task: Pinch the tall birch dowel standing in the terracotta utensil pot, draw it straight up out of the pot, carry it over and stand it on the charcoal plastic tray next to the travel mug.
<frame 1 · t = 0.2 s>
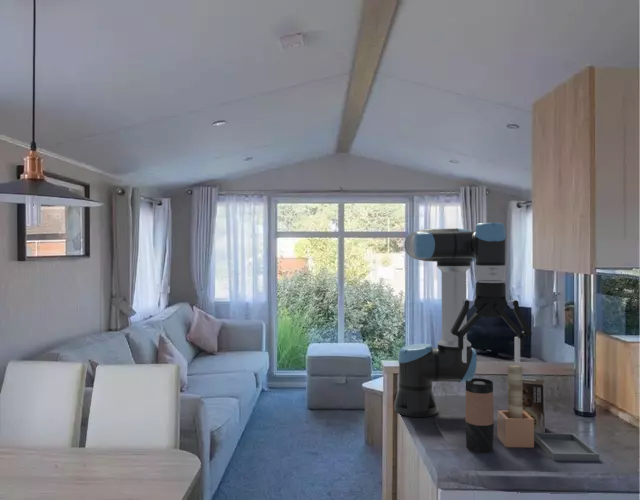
hand: (490, 362, 140), 28 cm above the worktop, fingers open, 13 cm apart
dowel: (515, 441, 156), point 1 cm above the worktop, touching pot
pot: (515, 445, 156), on the worktop
travel mug: (479, 452, 151), on the worktop
coffee box: (529, 432, 167), on the worktop
tray: (564, 452, 150), on the worktop
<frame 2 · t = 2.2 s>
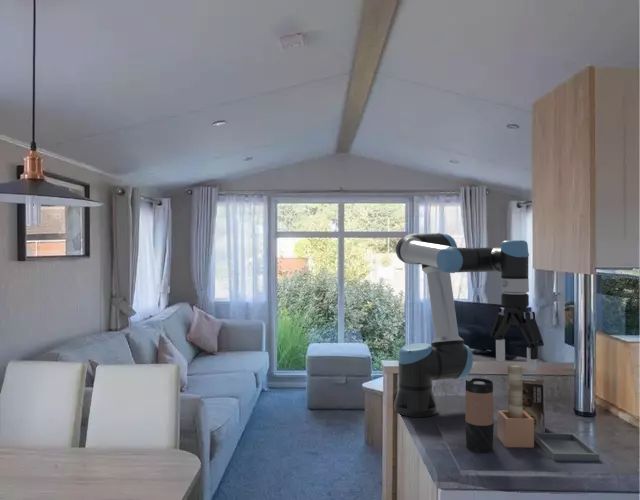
hand: (515, 365, 156), 23 cm above the worktop, fingers open, 13 cm apart
nothing on the worktop moved.
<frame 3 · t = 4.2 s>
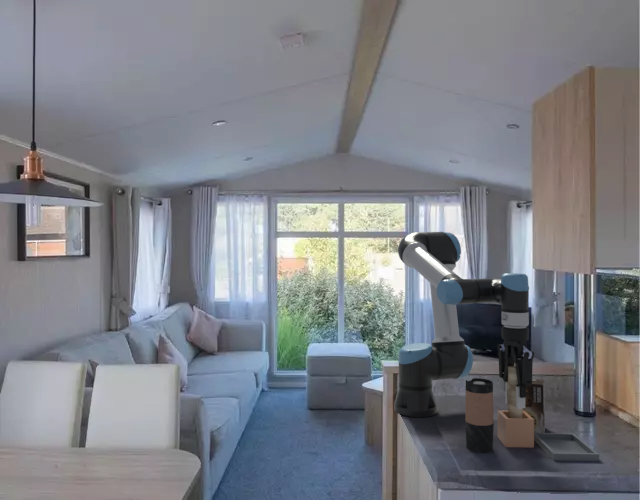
hand: (515, 405, 156), 12 cm above the worktop, fingers closed on dowel, 4 cm apart
dowel: (515, 442, 156), point 1 cm above the worktop, touching gripper, pot
everything else where it was.
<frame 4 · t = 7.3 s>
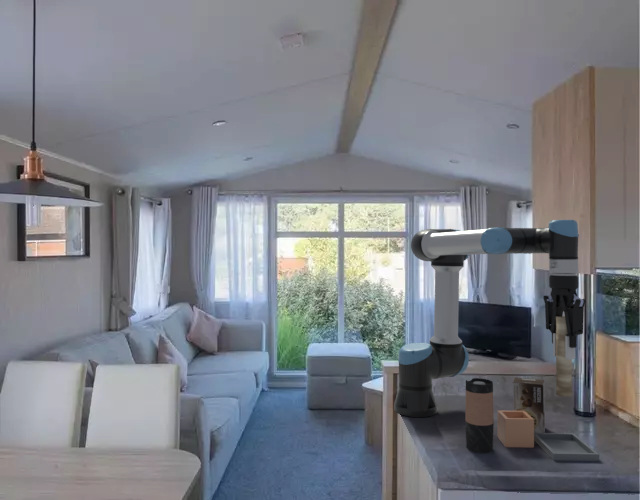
hand: (563, 357, 150), 27 cm above the worktop, fingers closed on dowel, 4 cm apart
dowel: (564, 394, 150), point 16 cm above the worktop, touching gripper
everything else where it was.
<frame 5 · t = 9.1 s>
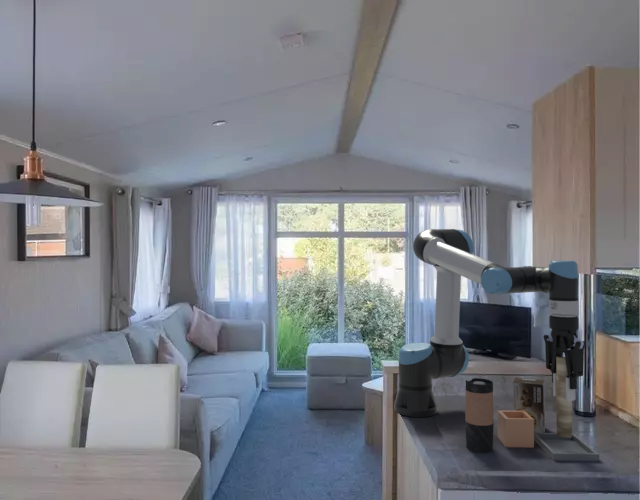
hand: (564, 397, 150), 16 cm above the worktop, fingers closed on dowel, 4 cm apart
dowel: (564, 435, 150), point 5 cm above the worktop, touching gripper
everything else where it was.
when the fingers open (13 cm above the worktop, at t = 10.4 s): dowel stays where it is, resting on tray.
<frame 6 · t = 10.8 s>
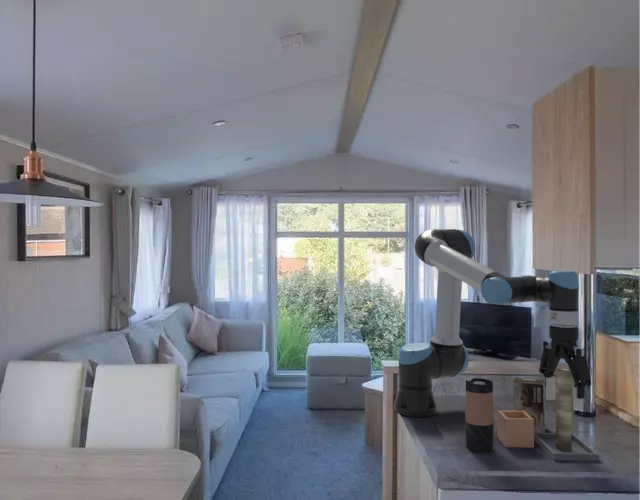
hand: (563, 404, 150), 14 cm above the worktop, fingers open, 9 cm apart
dowel: (563, 448, 150), point 1 cm above the worktop, touching tray
everything else where it was.
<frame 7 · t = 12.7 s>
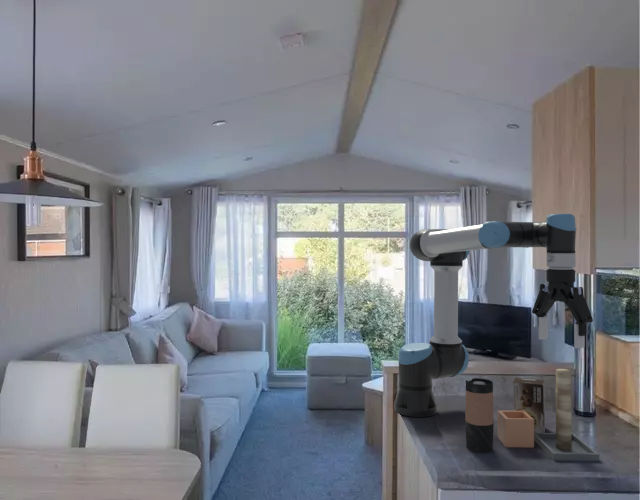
hand: (560, 343, 151), 31 cm above the worktop, fingers open, 13 cm apart
nothing on the worktop moved.
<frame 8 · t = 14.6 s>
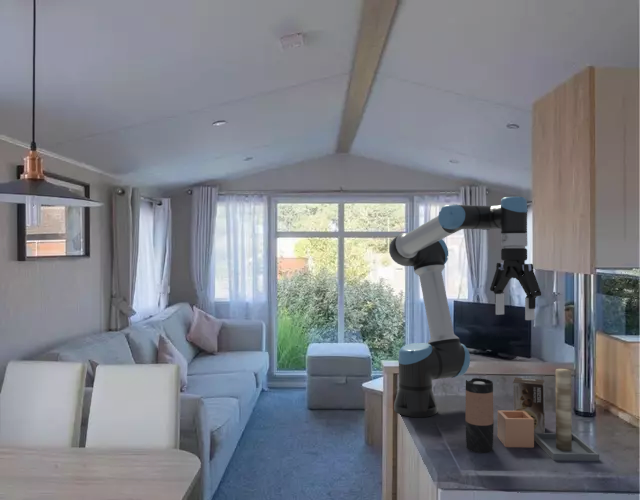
hand: (514, 317, 163), 37 cm above the worktop, fingers open, 13 cm apart
nothing on the worktop moved.
at the end: dowel inside the target area on the tray (0.0 cm from its centre), point 1.2 cm above the tray's base; dowel tilted 0°; the gripper is holding nothing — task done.
